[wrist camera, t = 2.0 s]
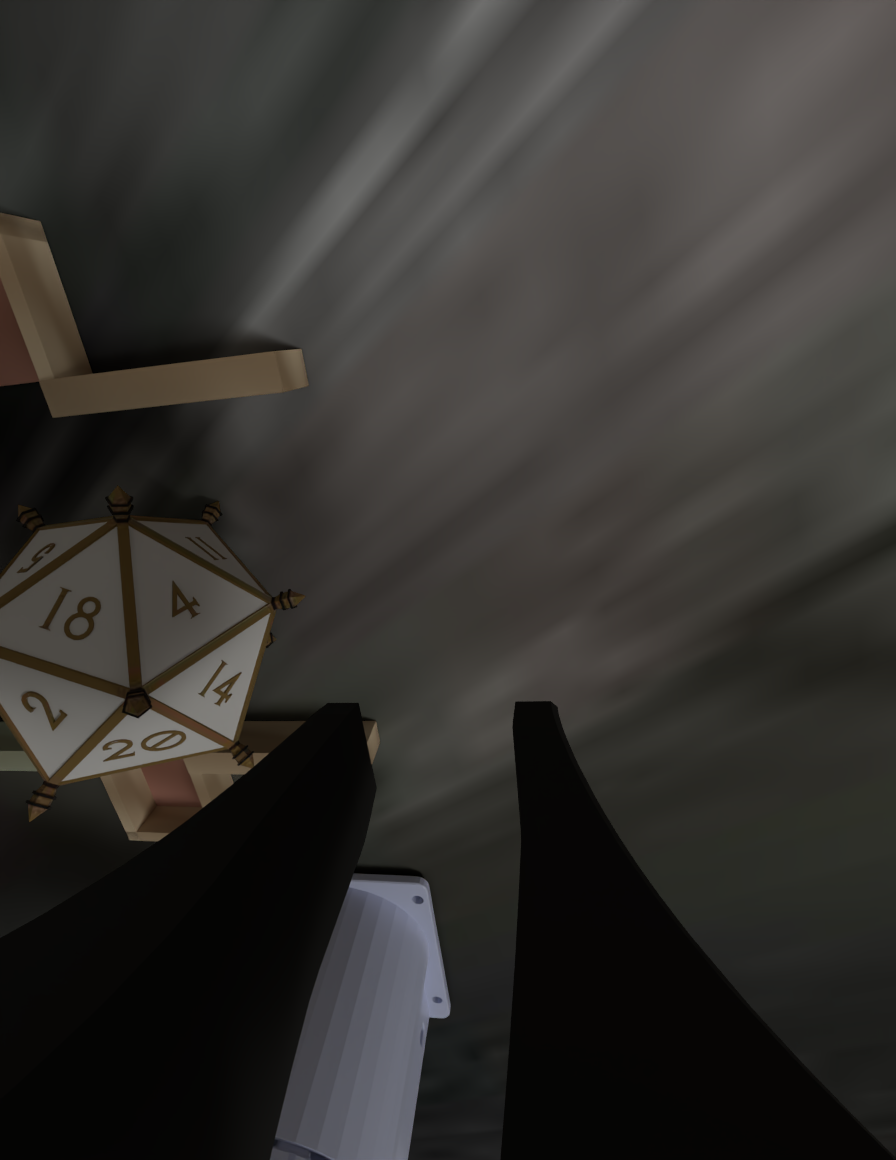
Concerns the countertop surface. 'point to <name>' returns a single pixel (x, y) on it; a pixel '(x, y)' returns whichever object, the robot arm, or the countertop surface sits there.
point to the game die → (128, 644)
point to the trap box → (59, 363)
